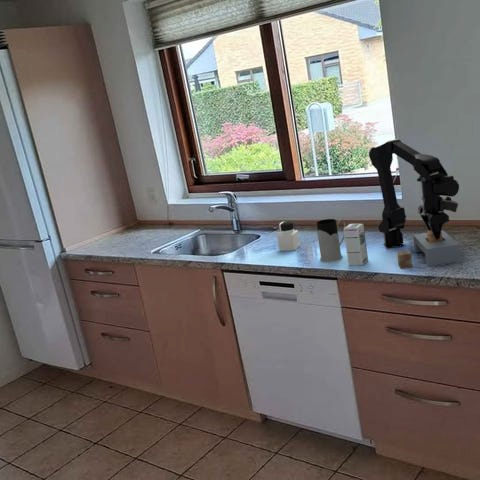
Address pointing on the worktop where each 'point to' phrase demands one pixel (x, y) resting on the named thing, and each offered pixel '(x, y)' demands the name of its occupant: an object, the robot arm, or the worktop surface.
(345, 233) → the syrup box
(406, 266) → the short pin
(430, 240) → the long pin
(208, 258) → the worktop surface
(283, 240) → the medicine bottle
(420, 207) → the robot arm
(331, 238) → the grey pitcher
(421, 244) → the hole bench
